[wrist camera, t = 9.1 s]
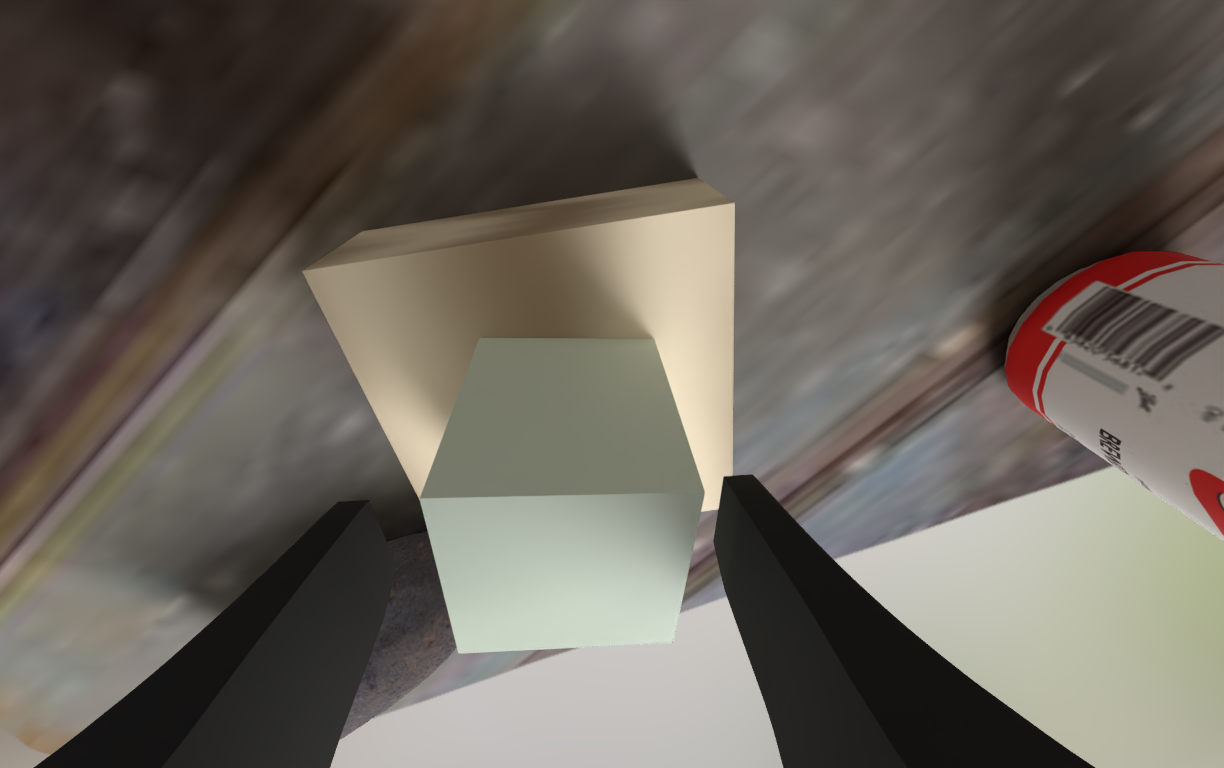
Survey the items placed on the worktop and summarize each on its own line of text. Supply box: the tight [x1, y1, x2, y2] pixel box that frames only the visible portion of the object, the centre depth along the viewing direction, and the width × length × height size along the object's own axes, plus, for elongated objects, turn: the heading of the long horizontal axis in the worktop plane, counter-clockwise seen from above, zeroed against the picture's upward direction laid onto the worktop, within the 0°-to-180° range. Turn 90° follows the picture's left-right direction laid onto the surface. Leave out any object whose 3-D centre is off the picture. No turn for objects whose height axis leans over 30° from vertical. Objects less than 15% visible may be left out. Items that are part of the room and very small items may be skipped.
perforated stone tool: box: [339, 531, 457, 740], centre depth 19 cm, size 15×5×7 cm, turn 119°
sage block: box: [420, 338, 705, 654], centre depth 11 cm, size 4×4×6 cm
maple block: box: [302, 178, 735, 512], centre depth 15 cm, size 10×10×4 cm
